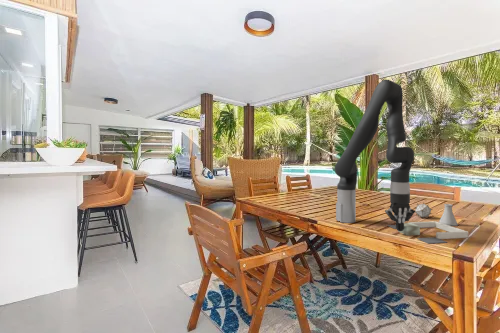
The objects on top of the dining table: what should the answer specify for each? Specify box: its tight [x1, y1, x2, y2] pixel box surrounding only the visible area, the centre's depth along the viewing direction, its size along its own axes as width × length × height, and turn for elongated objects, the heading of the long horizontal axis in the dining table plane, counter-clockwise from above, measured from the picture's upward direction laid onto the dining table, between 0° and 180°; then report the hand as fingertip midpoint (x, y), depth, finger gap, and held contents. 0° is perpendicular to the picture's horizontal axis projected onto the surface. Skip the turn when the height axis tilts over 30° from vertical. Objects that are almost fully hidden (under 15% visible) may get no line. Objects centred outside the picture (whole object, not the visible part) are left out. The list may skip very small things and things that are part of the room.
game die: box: [414, 202, 433, 219], centre depth 139 cm, size 9×8×10 cm
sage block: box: [397, 222, 421, 236], centre depth 113 cm, size 6×6×4 cm
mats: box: [387, 224, 448, 245], centre depth 112 cm, size 8×26×1 cm, turn 4°
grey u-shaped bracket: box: [408, 220, 469, 240], centre depth 113 cm, size 14×17×2 cm
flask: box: [438, 203, 459, 227], centre depth 125 cm, size 7×7×10 cm
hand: (399, 230), depth 111 cm, fingers closed
